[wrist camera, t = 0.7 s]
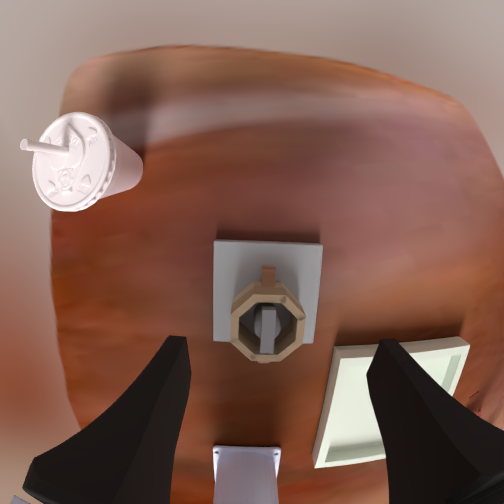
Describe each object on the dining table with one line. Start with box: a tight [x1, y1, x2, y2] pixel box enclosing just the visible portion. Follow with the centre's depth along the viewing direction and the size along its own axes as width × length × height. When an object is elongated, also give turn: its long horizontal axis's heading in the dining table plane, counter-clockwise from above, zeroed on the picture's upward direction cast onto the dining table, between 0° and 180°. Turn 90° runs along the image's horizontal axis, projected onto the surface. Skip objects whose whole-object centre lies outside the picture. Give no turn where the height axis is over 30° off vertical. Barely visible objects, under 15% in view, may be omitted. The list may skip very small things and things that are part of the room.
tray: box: [312, 336, 470, 468], centre depth 29 cm, size 16×16×2 cm
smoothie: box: [20, 112, 143, 211], centre depth 18 cm, size 6×6×14 cm
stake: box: [213, 239, 323, 354], centre depth 25 cm, size 9×9×5 cm
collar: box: [230, 265, 306, 363], centre depth 24 cm, size 8×6×4 cm
